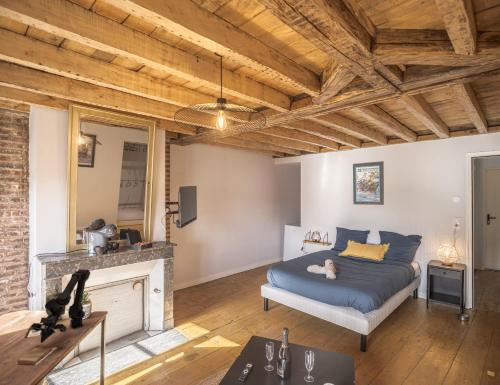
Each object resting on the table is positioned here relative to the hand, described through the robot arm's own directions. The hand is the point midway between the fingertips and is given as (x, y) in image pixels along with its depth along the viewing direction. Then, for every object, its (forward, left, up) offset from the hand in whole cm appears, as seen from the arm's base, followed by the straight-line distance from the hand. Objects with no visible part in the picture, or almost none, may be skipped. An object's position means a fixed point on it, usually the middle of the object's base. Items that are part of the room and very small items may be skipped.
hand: (41, 342), depth 166 cm
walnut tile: (-2, -2, -5) cm, 6 cm away
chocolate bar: (-6, -34, -7) cm, 35 cm away
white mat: (+2, +2, -6) cm, 7 cm away
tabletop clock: (-20, -45, -7) cm, 49 cm away
